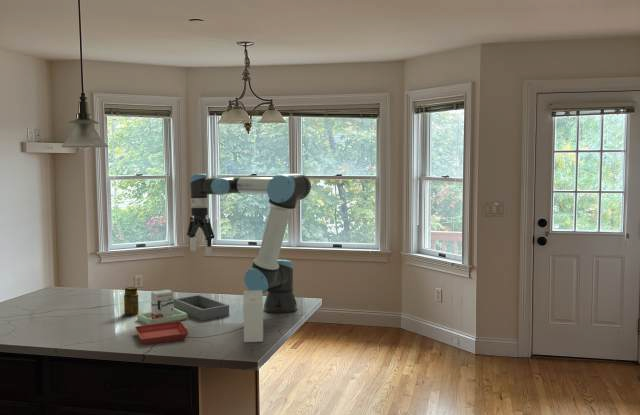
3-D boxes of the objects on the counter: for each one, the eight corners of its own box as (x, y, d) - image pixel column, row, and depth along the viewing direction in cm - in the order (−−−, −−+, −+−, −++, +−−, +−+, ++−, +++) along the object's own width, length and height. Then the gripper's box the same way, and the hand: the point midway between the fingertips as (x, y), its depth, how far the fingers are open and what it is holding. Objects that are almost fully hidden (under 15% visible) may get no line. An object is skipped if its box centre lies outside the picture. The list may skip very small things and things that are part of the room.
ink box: (155, 321, 251) (154, 293, 250) (151, 318, 255) (150, 291, 254) (174, 317, 256) (174, 291, 255) (170, 315, 260) (169, 289, 259)
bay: (229, 315, 263) (229, 305, 263) (202, 320, 254) (201, 310, 254) (199, 304, 284) (199, 294, 283) (173, 308, 275) (173, 299, 275)
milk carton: (244, 337, 230) (243, 288, 228) (263, 336, 230) (262, 288, 229) (244, 342, 223) (243, 292, 221) (263, 342, 223) (262, 292, 222)
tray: (187, 319, 257) (187, 313, 256) (150, 326, 246) (150, 320, 246) (174, 313, 266) (173, 307, 266) (137, 320, 256) (137, 314, 255)
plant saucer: (140, 347, 220) (140, 338, 219) (134, 334, 236) (134, 326, 236) (189, 340, 227) (189, 332, 227) (180, 328, 243) (180, 320, 243)
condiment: (139, 311, 270) (138, 285, 269) (140, 316, 262) (139, 289, 261) (122, 313, 267) (121, 287, 266) (123, 318, 259) (122, 290, 259)
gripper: (178, 206, 282) (180, 250, 284) (206, 208, 264) (208, 255, 266) (192, 205, 287) (194, 248, 289) (221, 207, 269) (222, 254, 271)
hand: (200, 252), depth 277 cm, fingers open, 13 cm apart
